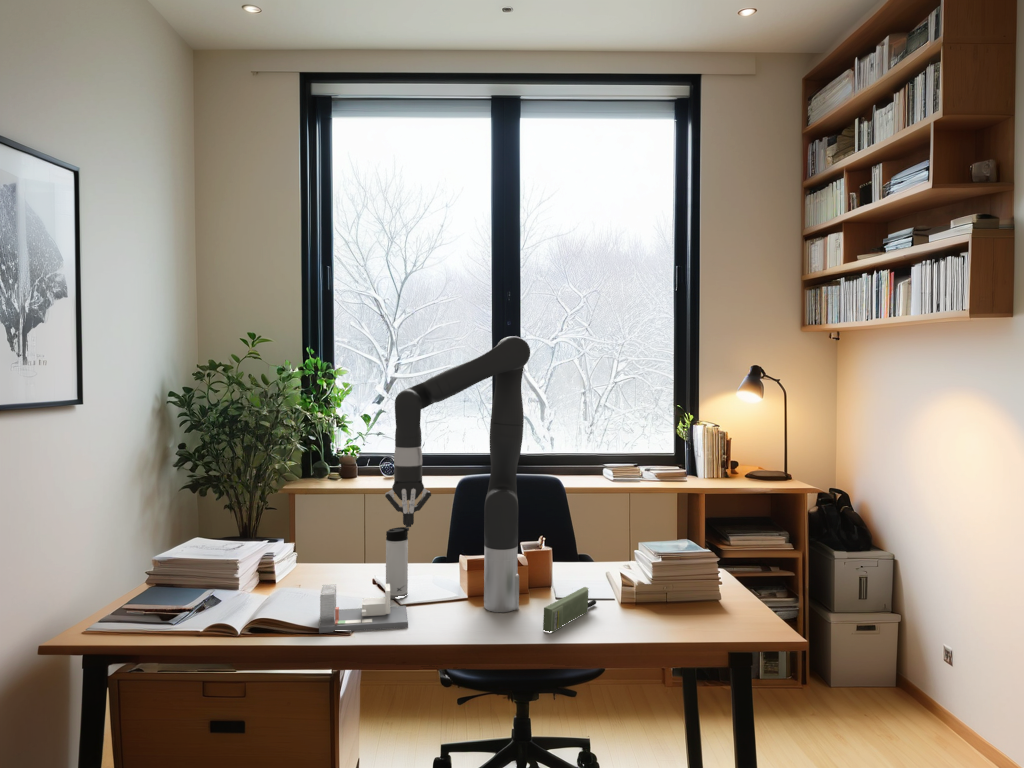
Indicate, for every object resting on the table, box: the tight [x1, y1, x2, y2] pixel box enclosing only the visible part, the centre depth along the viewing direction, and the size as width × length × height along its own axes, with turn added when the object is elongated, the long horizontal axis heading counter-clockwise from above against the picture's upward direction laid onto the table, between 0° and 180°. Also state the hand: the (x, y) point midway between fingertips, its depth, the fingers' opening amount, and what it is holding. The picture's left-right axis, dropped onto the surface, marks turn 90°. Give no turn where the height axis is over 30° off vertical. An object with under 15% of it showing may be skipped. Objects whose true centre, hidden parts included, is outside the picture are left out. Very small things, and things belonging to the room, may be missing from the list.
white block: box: [361, 583, 391, 616], centre depth 184 cm, size 7×8×6 cm
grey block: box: [319, 584, 337, 623], centre depth 182 cm, size 4×8×7 cm, turn 11°
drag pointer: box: [335, 606, 340, 624], centre depth 178 cm, size 1×4×3 cm, turn 11°
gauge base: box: [318, 605, 409, 634], centre depth 183 cm, size 22×12×2 cm, turn 101°
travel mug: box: [385, 526, 410, 600], centre depth 203 cm, size 6×7×20 cm
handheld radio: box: [542, 586, 597, 632], centre depth 187 cm, size 7×3×25 cm
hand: (408, 526), depth 190 cm, fingers closed
